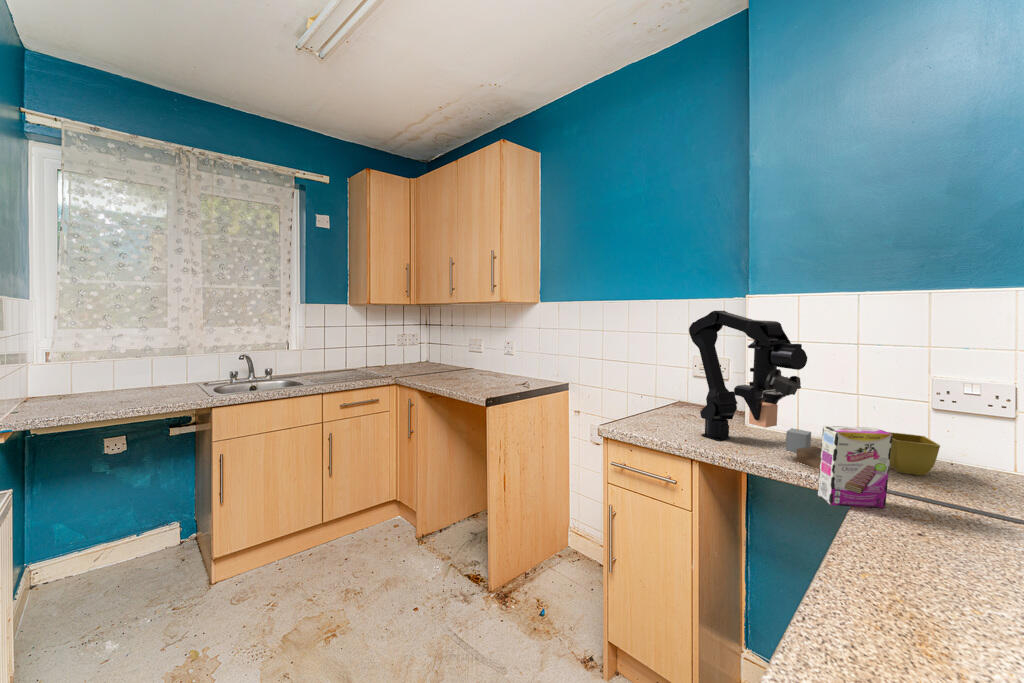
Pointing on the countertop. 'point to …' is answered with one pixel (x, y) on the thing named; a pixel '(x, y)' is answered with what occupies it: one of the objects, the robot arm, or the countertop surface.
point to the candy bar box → (854, 466)
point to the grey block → (797, 439)
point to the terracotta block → (765, 416)
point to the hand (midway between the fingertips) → (762, 419)
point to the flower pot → (912, 453)
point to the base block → (809, 456)
